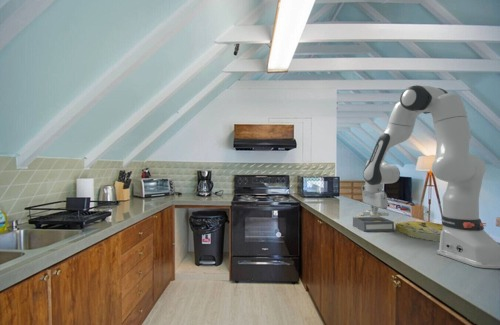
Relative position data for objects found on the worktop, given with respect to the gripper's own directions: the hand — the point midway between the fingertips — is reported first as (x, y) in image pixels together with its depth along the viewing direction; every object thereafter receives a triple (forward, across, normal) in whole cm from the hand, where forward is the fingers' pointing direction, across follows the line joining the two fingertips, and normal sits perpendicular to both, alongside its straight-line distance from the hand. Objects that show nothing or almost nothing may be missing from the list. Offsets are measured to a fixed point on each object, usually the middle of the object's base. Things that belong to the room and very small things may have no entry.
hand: (374, 213), depth 142 cm
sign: (+9, -10, -23) cm, 26 cm away
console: (+9, +2, 0) cm, 9 cm away
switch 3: (+1, +3, -5) cm, 6 cm away
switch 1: (+1, +3, +5) cm, 6 cm away
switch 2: (+1, +3, 0) cm, 3 cm away
